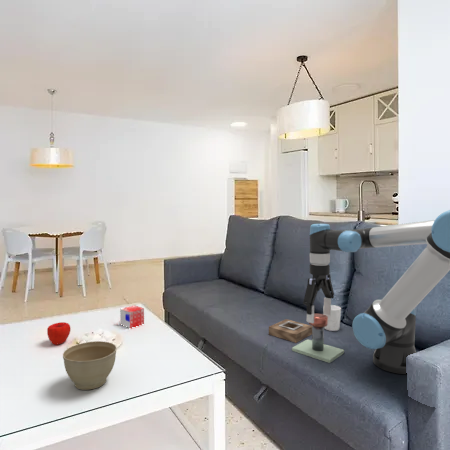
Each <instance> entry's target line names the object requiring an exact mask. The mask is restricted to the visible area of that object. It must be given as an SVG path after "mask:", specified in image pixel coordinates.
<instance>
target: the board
mask: <svg viewBox="0 0 450 450" xmlns="http://www.w3.org/2000/svg"><path fill="white" fill-rule="evenodd" d="M291 351H292V352H295V353H298V354H300V355H303V356H306V357H310V358H313V359H316V360H319V361H323V362H324V363H328V364H330V363H332V362H334V361H335V360H336V359H338V358H339V357H341V356H342V355H343V354H344V353H345V349H342V348H339V347H335V346H333V345H328V344H324V350H323V351H315V350H313V349H312V339H306V340H303V341H302V342H300V343H298V344H296V345H294V346H292V347H291Z"/></svg>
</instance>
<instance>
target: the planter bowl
mask: <svg viewBox="0 0 450 450" xmlns="http://www.w3.org/2000/svg"><path fill="white" fill-rule="evenodd" d="M117 350H118V349H117V346H116V344H114V343H113V342H109V341H102V340H101V341H99V340H98V341H97V340H96V341H87V342H82V343H78V344H75V345H72V346H69V348H67V349H65V350H64V351H63V353H62V359H63V364H64V369H65V372H66V374H67V376H68V377H69V379H70V380H71V382H73V383H74V387H75V389H78V390H83V391H87V390H94V389H97V388H99V387H102V386H103V385H105V383H106V382H107V379H108V377H109V375H110V374H111V372H112V371H113V368H114V365H115V362H116V358H117V356H116V353H117Z"/></svg>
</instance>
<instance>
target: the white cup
mask: <svg viewBox="0 0 450 450" xmlns="http://www.w3.org/2000/svg"><path fill="white" fill-rule="evenodd" d="M322 307H323V310H322V311H323V312H322V314H324V305H323V306H322ZM341 312H342V308H341V307H340V306H338V305H334V304H331V315H327V314H324V315H326V316H328V325H327V326H325V327H324V330H326V331H330V332H337V331H339V330H340V325H341V315H342V313H341Z"/></svg>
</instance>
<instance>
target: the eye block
mask: <svg viewBox="0 0 450 450" xmlns="http://www.w3.org/2000/svg"><path fill="white" fill-rule="evenodd" d="M268 335H269V336H272V337H277V338H279V339H283V340H286V341H289V342H292V343H294V344H295V343H296V344H297V343H299V342H300V341H302V340H304V339H306V338H308V337H310V336H312V325H310V324H308V323H307V324H305V323H303V322H299V321H294V320H291V319H287V318H285V319H283V320H280V321H279V322H277V323H273V324H272V325H269V326H268Z"/></svg>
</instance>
